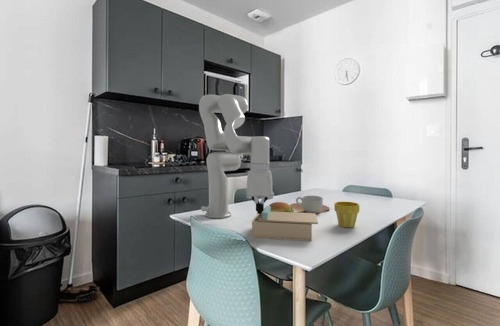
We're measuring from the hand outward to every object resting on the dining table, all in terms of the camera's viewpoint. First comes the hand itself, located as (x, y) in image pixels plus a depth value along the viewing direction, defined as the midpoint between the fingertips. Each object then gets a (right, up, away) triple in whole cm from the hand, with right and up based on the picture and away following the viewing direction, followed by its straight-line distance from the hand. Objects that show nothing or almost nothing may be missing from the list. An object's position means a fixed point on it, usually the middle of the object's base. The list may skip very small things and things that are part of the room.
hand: (259, 213), depth 109 cm
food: (+10, -7, +21) cm, 24 cm away
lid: (+11, -2, -2) cm, 11 cm away
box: (+9, -8, -1) cm, 12 cm away
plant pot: (+38, -8, +10) cm, 40 cm away
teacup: (+28, -6, +35) cm, 45 cm away
